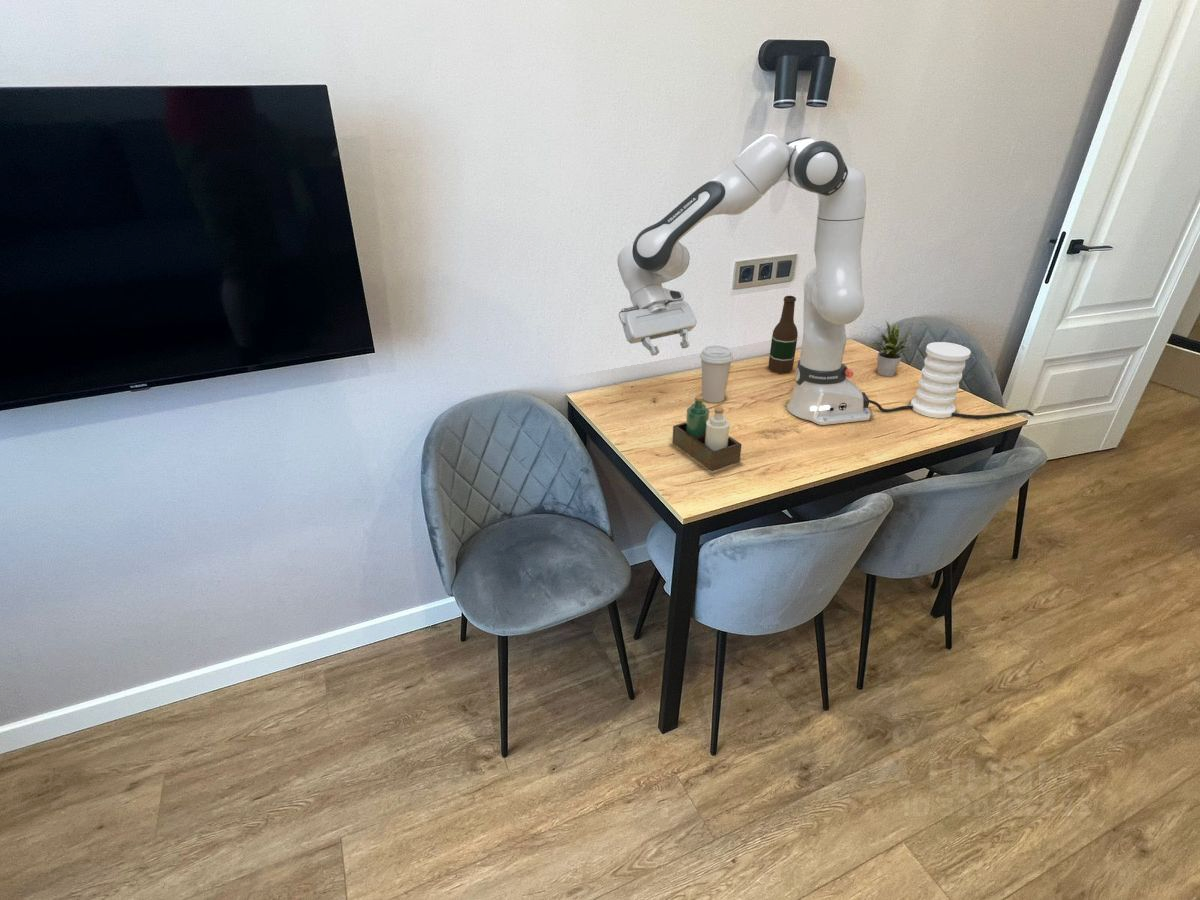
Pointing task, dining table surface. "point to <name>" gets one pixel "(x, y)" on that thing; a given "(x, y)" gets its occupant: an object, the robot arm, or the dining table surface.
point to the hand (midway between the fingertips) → (671, 350)
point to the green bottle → (697, 417)
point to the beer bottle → (784, 339)
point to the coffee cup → (715, 372)
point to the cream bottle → (717, 430)
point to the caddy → (706, 449)
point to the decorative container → (940, 379)
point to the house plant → (890, 352)
